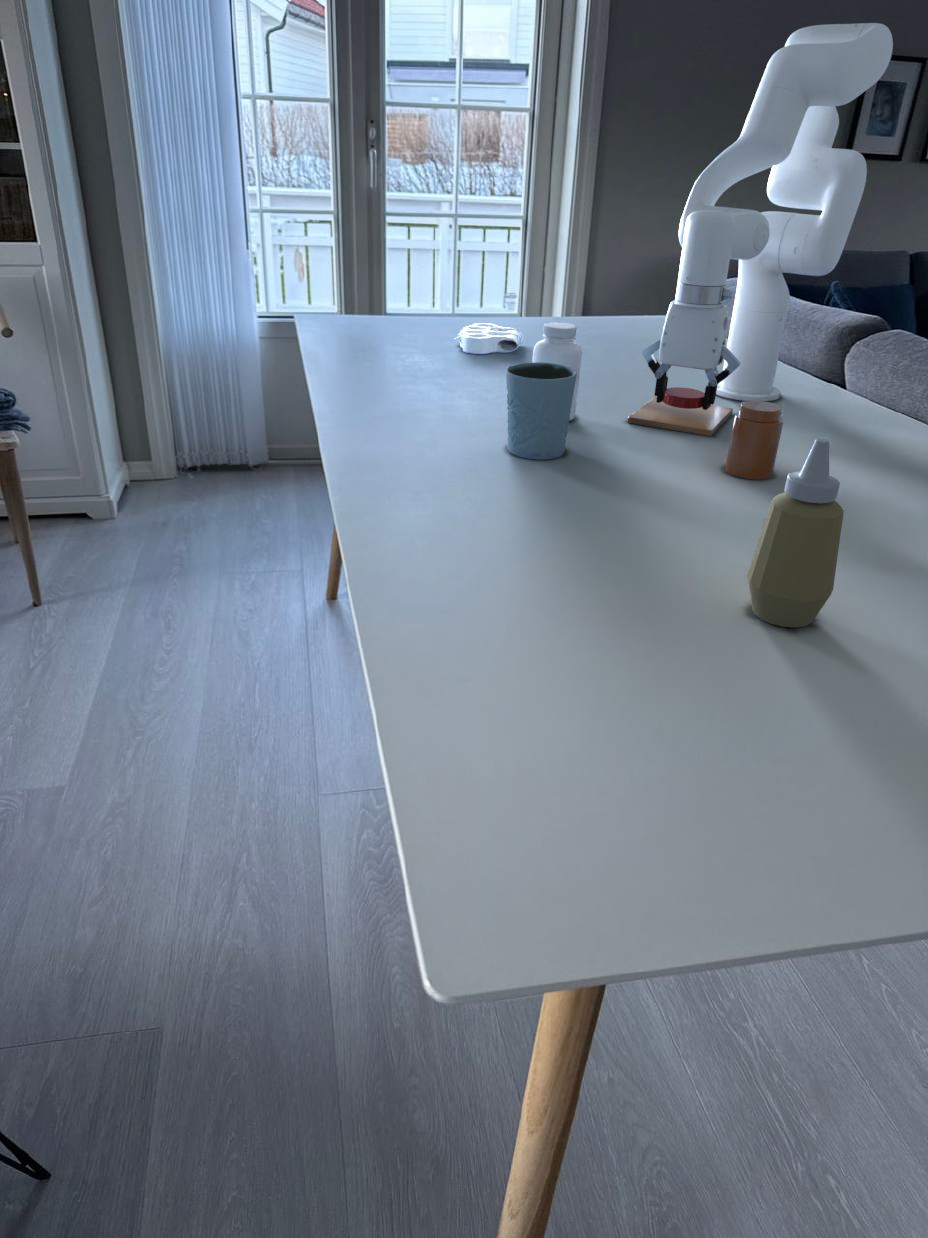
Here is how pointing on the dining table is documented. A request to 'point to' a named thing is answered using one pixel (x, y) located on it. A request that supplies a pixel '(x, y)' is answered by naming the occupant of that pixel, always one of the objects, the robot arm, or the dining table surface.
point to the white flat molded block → (488, 338)
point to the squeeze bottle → (798, 546)
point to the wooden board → (681, 417)
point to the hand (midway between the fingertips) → (683, 403)
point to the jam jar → (754, 440)
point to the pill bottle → (560, 351)
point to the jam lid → (683, 397)
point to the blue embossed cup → (539, 408)
